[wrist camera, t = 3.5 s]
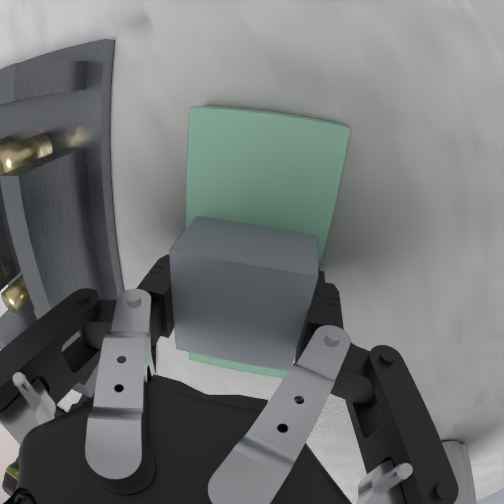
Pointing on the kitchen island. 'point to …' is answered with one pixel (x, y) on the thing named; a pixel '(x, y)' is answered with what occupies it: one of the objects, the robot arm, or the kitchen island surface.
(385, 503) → the robot arm
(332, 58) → the kitchen island surface
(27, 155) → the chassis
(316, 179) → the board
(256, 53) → the kitchen island surface
